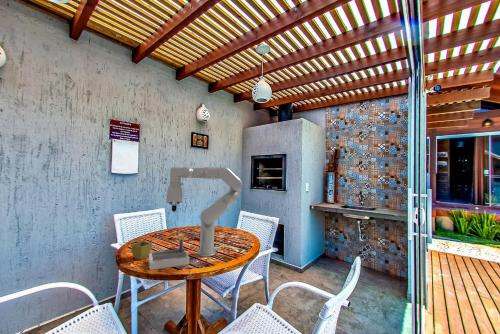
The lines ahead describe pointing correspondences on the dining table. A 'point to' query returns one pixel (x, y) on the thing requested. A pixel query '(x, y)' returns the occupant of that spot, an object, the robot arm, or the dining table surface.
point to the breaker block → (167, 259)
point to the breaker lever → (180, 242)
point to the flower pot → (141, 250)
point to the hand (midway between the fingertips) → (173, 211)
